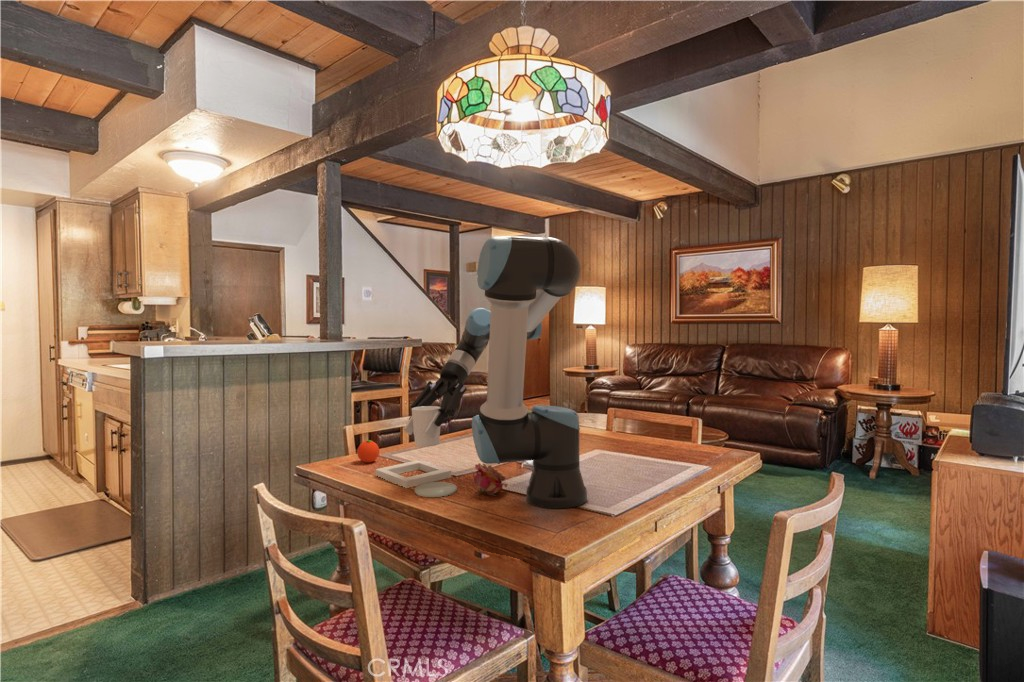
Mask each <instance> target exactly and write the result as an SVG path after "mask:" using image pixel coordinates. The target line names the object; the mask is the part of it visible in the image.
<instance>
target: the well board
mask: <svg viewBox="0 0 1024 682" xmlns="http://www.w3.org/2000/svg"><path fill="white" fill-rule="evenodd" d="M419 470H420V471H423V472H424V473H421V474H416V475H412V476H411V475H410V476H404V475H401V474H405V472H406V473H409V472H414V471H419ZM377 476H378V477H377ZM375 477H377V478H379V477H381V478H380V479H382V478H383V479H382V480H384V479H385V480H384V481H387V480H388V481H387V482H389V481H391V482H393V483H392V484H394V483H395V484H394V485H396V484H398V485H397V486H399V485H400V486H399V487H401V486H403V487H402V488H404V487H405V488H404V489H409V488H408V487H411V488H413V487H412V486H415V487H417V485H422V484H425V483H431V482H440V481H442V480H446V479H450V478H452V470H451V469H448V468H445V467H442V466H439V465H435V464H432V463H429V462H427V461H424V460H420V459H417V460H413V461H412V460H411V461H409V462H403V463H399V464H394V465H390V466H389V465H388V466H385V467H380V468H375ZM391 482H390V483H391Z"/></svg>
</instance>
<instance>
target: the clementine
mask: <svg viewBox="0 0 1024 682" xmlns="http://www.w3.org/2000/svg"><path fill="white" fill-rule="evenodd" d="M356 452H357V453H356V455H357V457H358V459H359V460H360V461H362V462H363V463H367V464H368V463H369V464H370V463H373V462H374V461H376V460H377V459H378V457H379V455H380V447H379V446H378V444H377V443H376V442H374V441H373V440H372V439H371V440H364V441H363V442H361V443H360V444H359V446H358V447H357V451H356Z"/></svg>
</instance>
